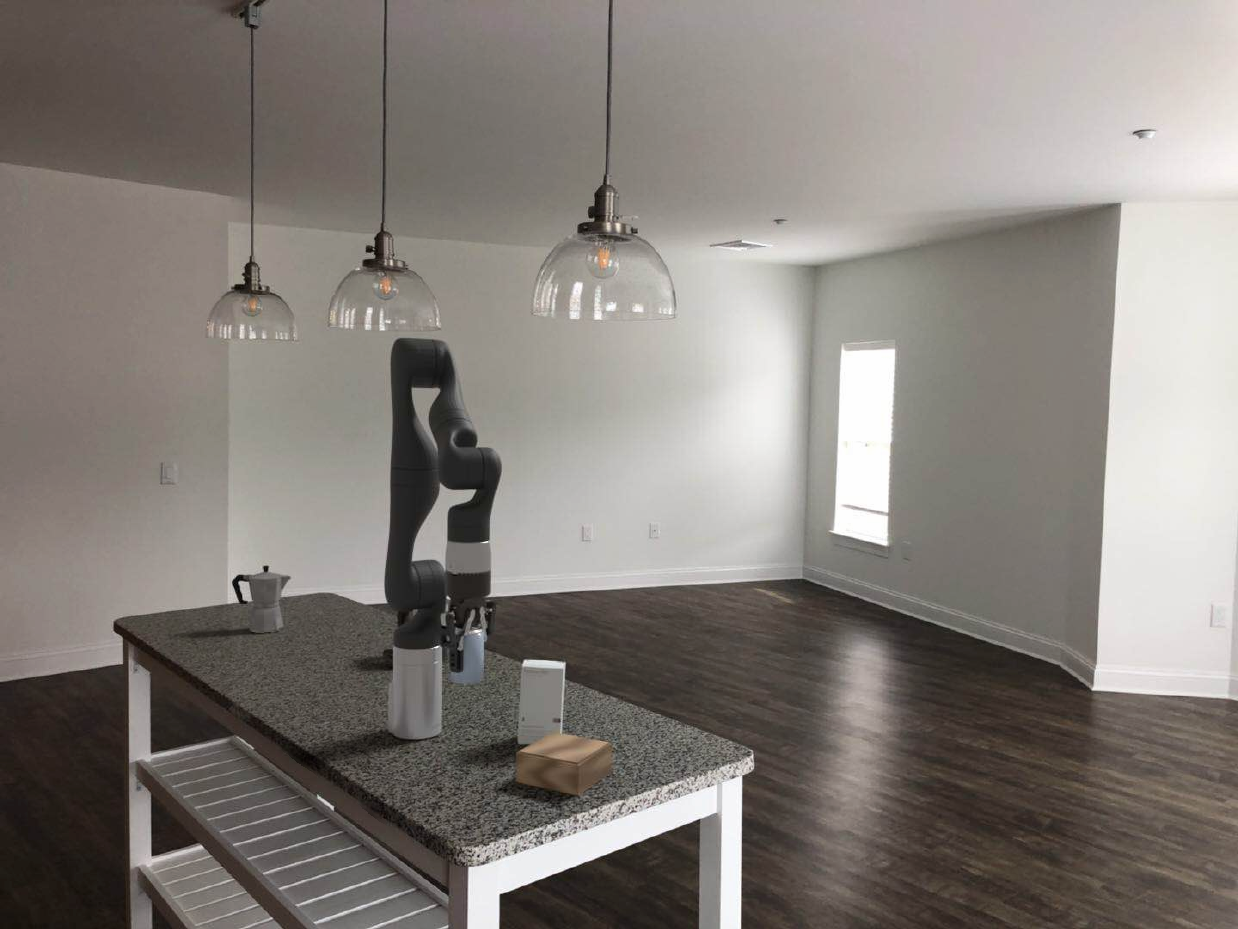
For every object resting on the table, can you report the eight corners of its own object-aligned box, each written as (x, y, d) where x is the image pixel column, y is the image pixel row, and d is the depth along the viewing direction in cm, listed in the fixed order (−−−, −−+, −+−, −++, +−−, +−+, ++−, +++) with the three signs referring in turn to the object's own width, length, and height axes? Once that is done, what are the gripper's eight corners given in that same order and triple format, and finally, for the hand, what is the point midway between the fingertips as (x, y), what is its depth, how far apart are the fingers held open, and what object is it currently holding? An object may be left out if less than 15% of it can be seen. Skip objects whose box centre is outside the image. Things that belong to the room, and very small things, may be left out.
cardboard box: (515, 782, 165) (516, 751, 165) (551, 759, 176) (552, 731, 176) (578, 795, 160) (578, 764, 160) (611, 772, 171) (612, 742, 170)
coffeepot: (292, 625, 277) (292, 562, 276) (289, 633, 268) (289, 567, 267) (234, 627, 274) (234, 563, 273) (229, 635, 265) (229, 568, 264)
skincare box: (517, 745, 183) (518, 666, 182) (520, 734, 189) (521, 658, 188) (562, 746, 183) (563, 667, 182) (564, 735, 189) (565, 659, 188)
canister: (444, 681, 163) (444, 630, 163) (463, 673, 168) (463, 624, 167) (470, 685, 161) (471, 635, 160) (489, 677, 165) (490, 628, 165)
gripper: (474, 559, 171) (473, 655, 172) (422, 571, 158) (422, 674, 159) (511, 563, 168) (509, 661, 169) (461, 575, 155) (459, 681, 156)
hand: (467, 667), depth 164 cm, fingers closed on canister, 5 cm apart
